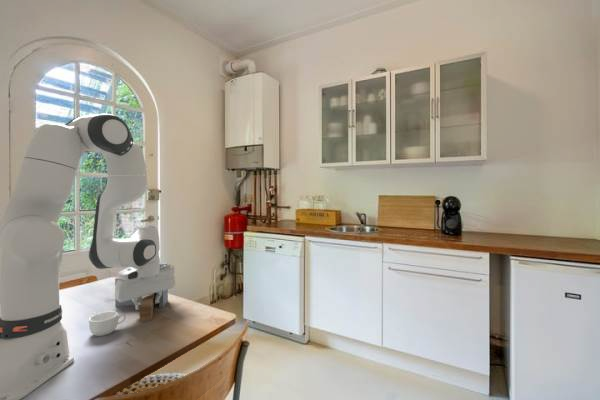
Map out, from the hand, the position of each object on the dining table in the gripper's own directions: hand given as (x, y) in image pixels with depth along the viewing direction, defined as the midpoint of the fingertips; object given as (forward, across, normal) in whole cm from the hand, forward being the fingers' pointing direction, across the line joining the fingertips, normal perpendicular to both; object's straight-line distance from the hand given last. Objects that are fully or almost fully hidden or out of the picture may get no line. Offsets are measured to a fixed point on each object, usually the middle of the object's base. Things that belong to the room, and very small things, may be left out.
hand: (147, 306), depth 105 cm
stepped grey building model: (+3, -2, -10) cm, 11 cm away
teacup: (+3, +14, +4) cm, 15 cm away
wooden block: (+2, 0, 0) cm, 2 cm away
